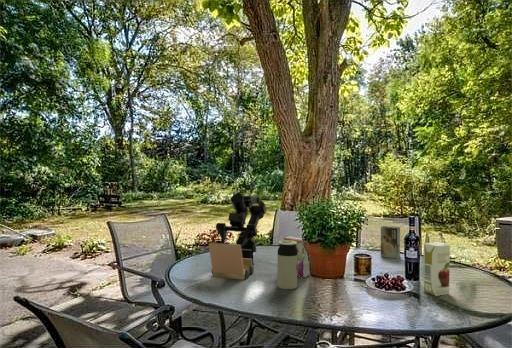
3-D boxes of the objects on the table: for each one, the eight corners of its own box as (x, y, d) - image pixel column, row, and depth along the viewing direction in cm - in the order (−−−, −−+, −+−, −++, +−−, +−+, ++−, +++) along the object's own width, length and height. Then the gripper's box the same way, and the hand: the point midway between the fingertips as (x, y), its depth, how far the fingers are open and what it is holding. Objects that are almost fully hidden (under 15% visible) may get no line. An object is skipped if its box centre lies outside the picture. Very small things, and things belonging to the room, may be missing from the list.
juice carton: (419, 291, 147) (420, 242, 147) (436, 288, 151) (436, 241, 151) (436, 297, 141) (436, 246, 140) (452, 294, 144) (453, 244, 144)
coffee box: (400, 256, 207) (400, 227, 207) (397, 258, 202) (397, 228, 202) (383, 254, 212) (383, 225, 212) (380, 256, 207) (380, 227, 207)
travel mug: (274, 288, 150) (275, 243, 149) (280, 283, 157) (280, 239, 157) (294, 291, 147) (294, 244, 147) (299, 285, 154) (299, 241, 154)
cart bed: (220, 269, 178) (221, 256, 178) (254, 272, 173) (254, 258, 173) (210, 276, 165) (210, 262, 165) (246, 279, 161) (246, 265, 161)
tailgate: (213, 270, 166) (209, 242, 161) (244, 273, 162) (240, 244, 157) (212, 272, 165) (208, 243, 160) (243, 275, 161) (240, 245, 156)
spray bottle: (282, 273, 171) (283, 237, 171) (289, 271, 175) (290, 235, 175) (303, 278, 164) (303, 240, 164) (309, 276, 167) (310, 239, 167)
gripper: (217, 205, 175) (207, 232, 165) (256, 206, 170) (248, 235, 160) (223, 220, 183) (214, 247, 173) (260, 222, 178) (253, 250, 167)
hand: (232, 244), depth 168 cm, fingers open, 9 cm apart
